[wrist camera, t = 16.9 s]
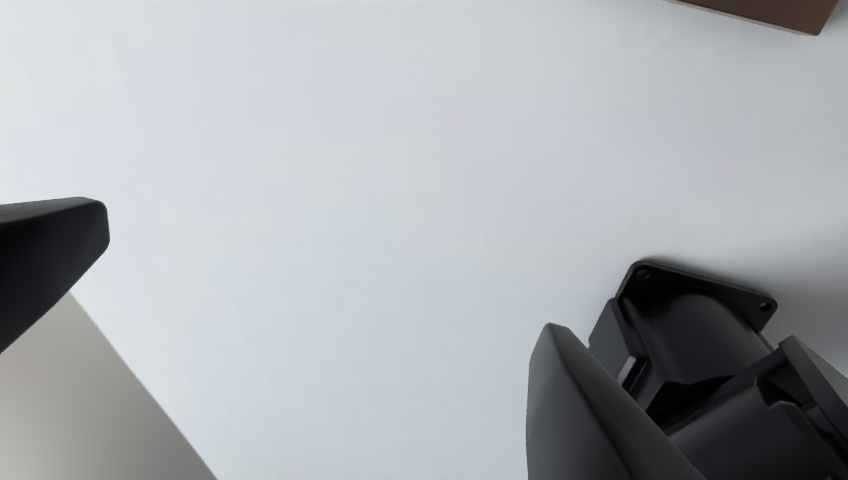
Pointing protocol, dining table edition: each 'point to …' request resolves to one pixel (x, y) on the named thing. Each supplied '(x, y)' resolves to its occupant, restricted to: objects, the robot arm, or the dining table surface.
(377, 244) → the dining table surface
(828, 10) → the chessboard
